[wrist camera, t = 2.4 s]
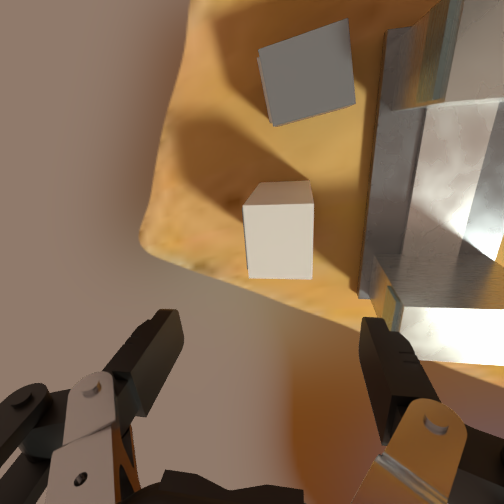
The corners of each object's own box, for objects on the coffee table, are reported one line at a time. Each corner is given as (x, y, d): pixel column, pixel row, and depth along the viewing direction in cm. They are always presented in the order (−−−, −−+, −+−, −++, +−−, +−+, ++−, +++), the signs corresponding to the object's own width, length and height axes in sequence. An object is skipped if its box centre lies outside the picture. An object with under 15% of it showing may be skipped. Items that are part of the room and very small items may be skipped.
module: (257, 182, 27) (239, 205, 19) (309, 180, 27) (314, 203, 18) (260, 237, 30) (245, 278, 22) (308, 237, 29) (312, 279, 21)
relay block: (263, 65, 23) (254, 50, 19) (338, 40, 22) (348, 17, 17) (275, 127, 25) (269, 127, 21) (345, 108, 24) (355, 103, 19)
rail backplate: (384, 33, 21) (447, -36, 12) (567, 10, 19) (807, -95, 10) (356, 293, 31) (380, 362, 22) (475, 297, 29) (554, 373, 20)
